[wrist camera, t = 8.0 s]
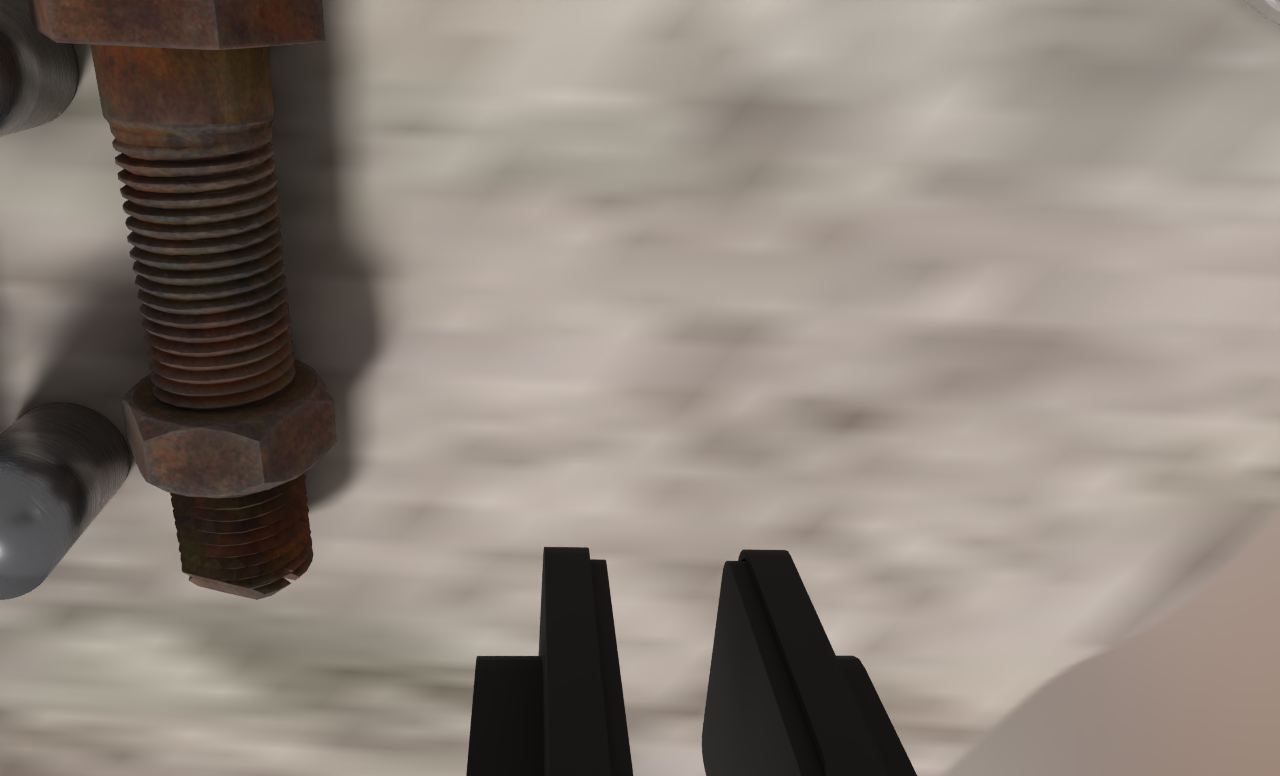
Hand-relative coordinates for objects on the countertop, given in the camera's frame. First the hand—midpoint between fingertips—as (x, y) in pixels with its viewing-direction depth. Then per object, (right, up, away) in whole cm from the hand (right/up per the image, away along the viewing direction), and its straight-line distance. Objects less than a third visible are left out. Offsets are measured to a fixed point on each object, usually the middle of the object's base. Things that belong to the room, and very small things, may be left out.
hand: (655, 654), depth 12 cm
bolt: (-11, +6, +13) cm, 18 cm away
